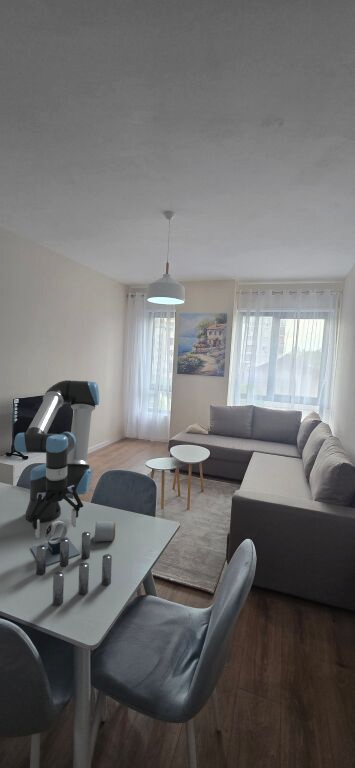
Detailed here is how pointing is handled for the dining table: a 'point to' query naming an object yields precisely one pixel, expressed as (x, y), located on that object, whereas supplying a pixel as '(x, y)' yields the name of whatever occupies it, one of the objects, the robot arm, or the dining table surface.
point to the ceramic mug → (104, 531)
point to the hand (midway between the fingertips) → (56, 530)
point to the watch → (55, 543)
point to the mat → (56, 558)
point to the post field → (64, 561)
